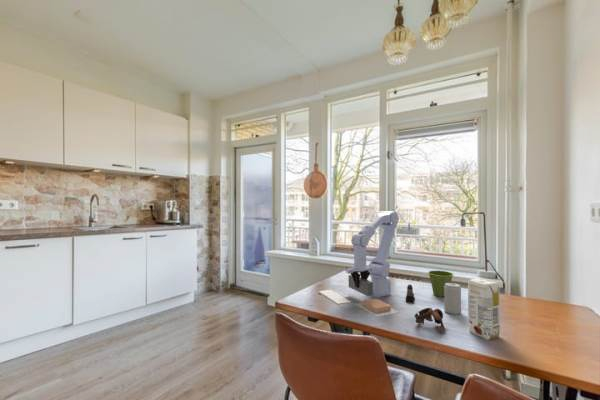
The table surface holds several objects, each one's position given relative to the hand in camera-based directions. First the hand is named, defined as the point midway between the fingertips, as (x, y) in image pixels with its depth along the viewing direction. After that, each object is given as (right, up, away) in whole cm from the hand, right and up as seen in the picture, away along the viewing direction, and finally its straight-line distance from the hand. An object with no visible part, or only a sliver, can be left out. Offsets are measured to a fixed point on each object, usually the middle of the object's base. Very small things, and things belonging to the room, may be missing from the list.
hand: (360, 286), depth 136 cm
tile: (+3, -5, -7) cm, 9 cm away
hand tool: (+26, -7, +5) cm, 27 cm away
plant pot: (+43, -7, +8) cm, 44 cm away
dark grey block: (0, -2, 0) cm, 2 cm away
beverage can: (+37, -6, -15) cm, 40 cm away
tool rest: (-12, -6, +3) cm, 14 cm away
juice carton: (+36, -6, -36) cm, 52 cm away
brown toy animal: (+21, -6, -30) cm, 37 cm away
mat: (+5, -6, -11) cm, 14 cm away
